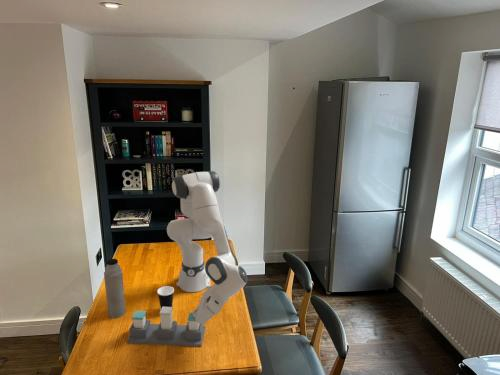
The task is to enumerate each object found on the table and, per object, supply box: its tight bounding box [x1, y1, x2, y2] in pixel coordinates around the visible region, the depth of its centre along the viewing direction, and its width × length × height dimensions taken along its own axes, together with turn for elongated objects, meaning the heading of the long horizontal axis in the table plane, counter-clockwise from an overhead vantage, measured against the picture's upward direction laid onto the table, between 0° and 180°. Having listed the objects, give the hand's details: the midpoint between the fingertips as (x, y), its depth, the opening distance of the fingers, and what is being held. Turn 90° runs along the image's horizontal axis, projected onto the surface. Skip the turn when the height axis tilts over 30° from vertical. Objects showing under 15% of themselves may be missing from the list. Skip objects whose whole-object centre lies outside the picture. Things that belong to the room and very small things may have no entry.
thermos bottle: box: [103, 258, 127, 319], centre depth 172 cm, size 8×8×28 cm
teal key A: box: [131, 310, 147, 328], centre depth 161 cm, size 5×5×9 cm
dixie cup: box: [156, 285, 175, 310], centre depth 178 cm, size 8×8×11 cm
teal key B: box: [187, 312, 200, 331], centre depth 160 cm, size 5×5×9 cm
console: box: [126, 319, 207, 347], centre depth 161 cm, size 12×32×5 cm, turn 88°
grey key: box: [159, 306, 174, 330], centre depth 159 cm, size 5×5×9 cm
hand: (194, 314), depth 158 cm, fingers closed
